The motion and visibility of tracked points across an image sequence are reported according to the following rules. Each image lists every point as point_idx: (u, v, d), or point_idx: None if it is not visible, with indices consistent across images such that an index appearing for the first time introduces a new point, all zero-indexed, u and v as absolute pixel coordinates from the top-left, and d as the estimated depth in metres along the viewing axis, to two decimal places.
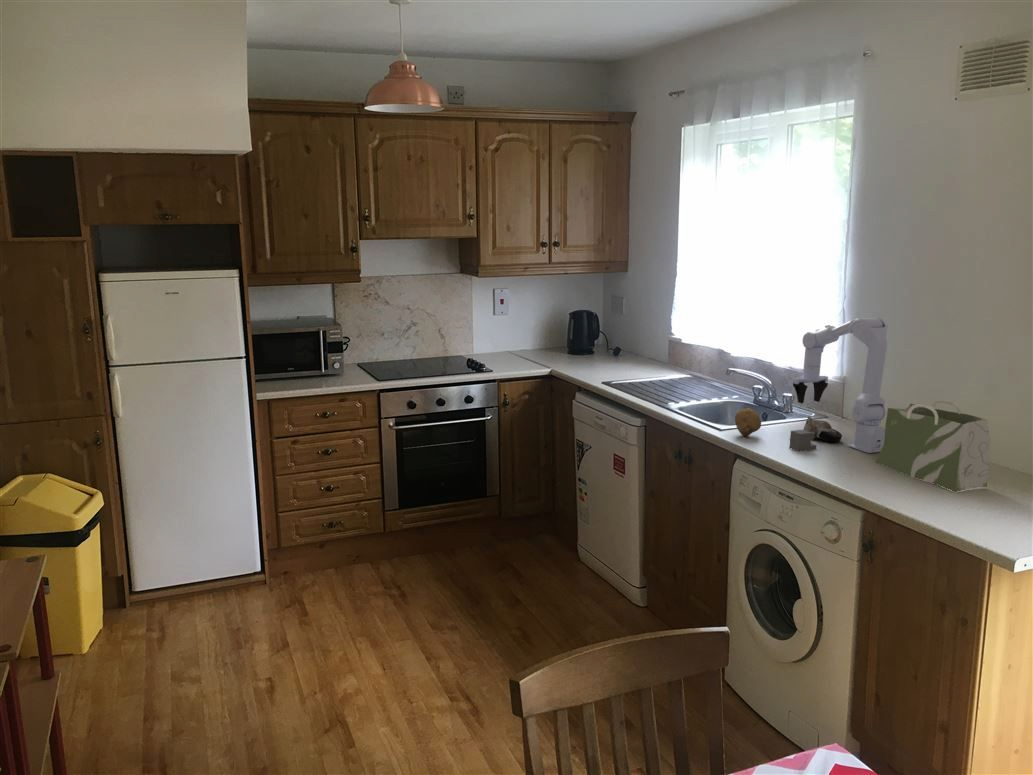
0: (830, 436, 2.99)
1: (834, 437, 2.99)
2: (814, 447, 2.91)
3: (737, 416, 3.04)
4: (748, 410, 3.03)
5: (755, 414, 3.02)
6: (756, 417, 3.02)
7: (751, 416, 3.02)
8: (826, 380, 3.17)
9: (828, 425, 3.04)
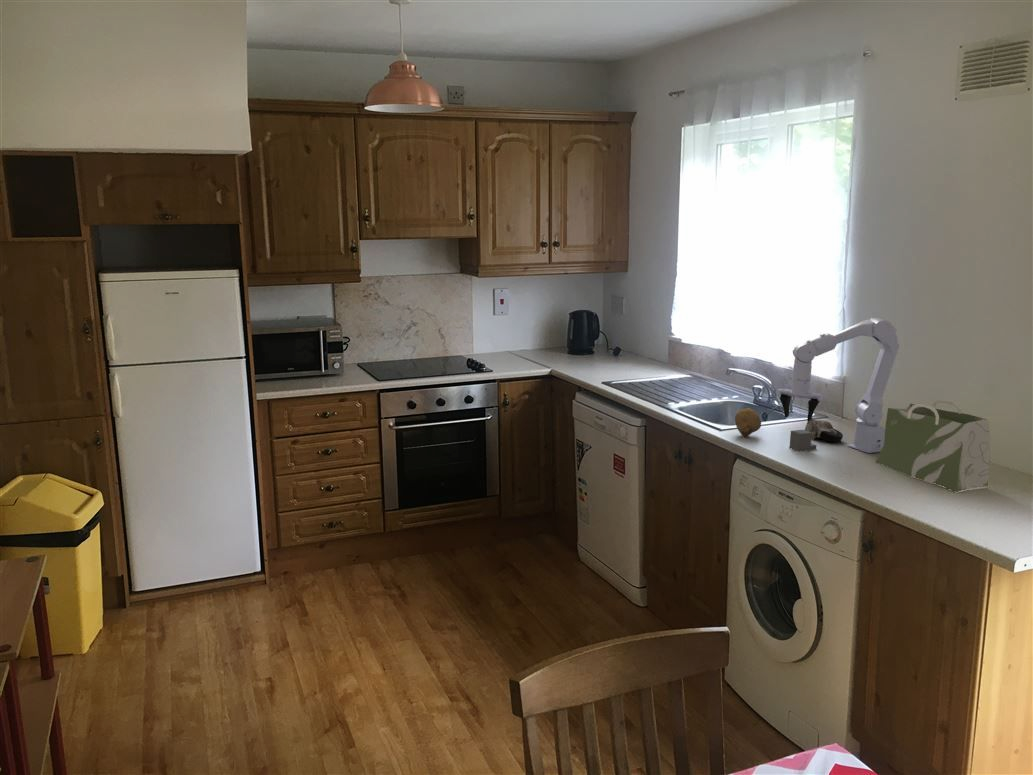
0: (830, 436, 2.99)
1: (835, 437, 2.99)
2: (814, 447, 2.91)
3: (737, 416, 3.04)
4: (748, 410, 3.03)
5: (755, 414, 3.02)
6: (756, 417, 3.02)
7: (751, 416, 3.02)
8: (818, 399, 2.88)
9: (829, 425, 3.04)
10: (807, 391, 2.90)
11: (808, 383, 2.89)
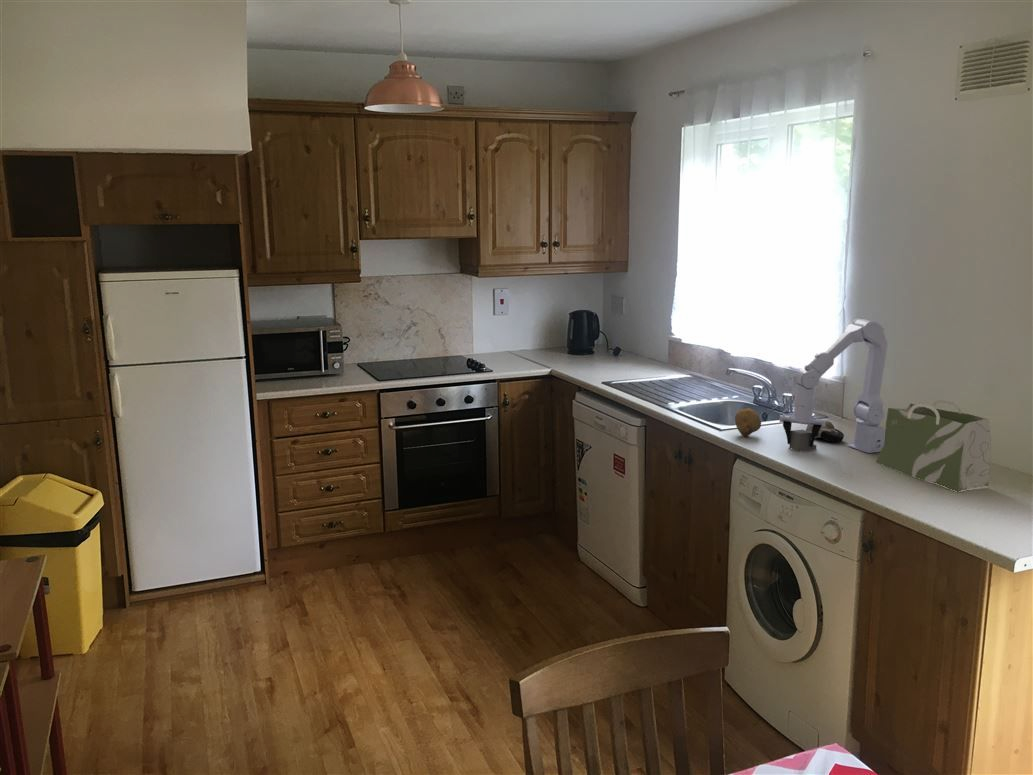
0: (831, 436, 2.99)
1: (835, 437, 2.99)
2: (814, 447, 2.91)
3: (737, 416, 3.04)
4: (748, 410, 3.03)
5: (755, 414, 3.02)
6: (756, 417, 3.02)
7: (751, 416, 3.02)
8: (822, 425, 2.86)
9: (831, 425, 3.04)
10: (810, 417, 2.87)
11: (812, 409, 2.87)
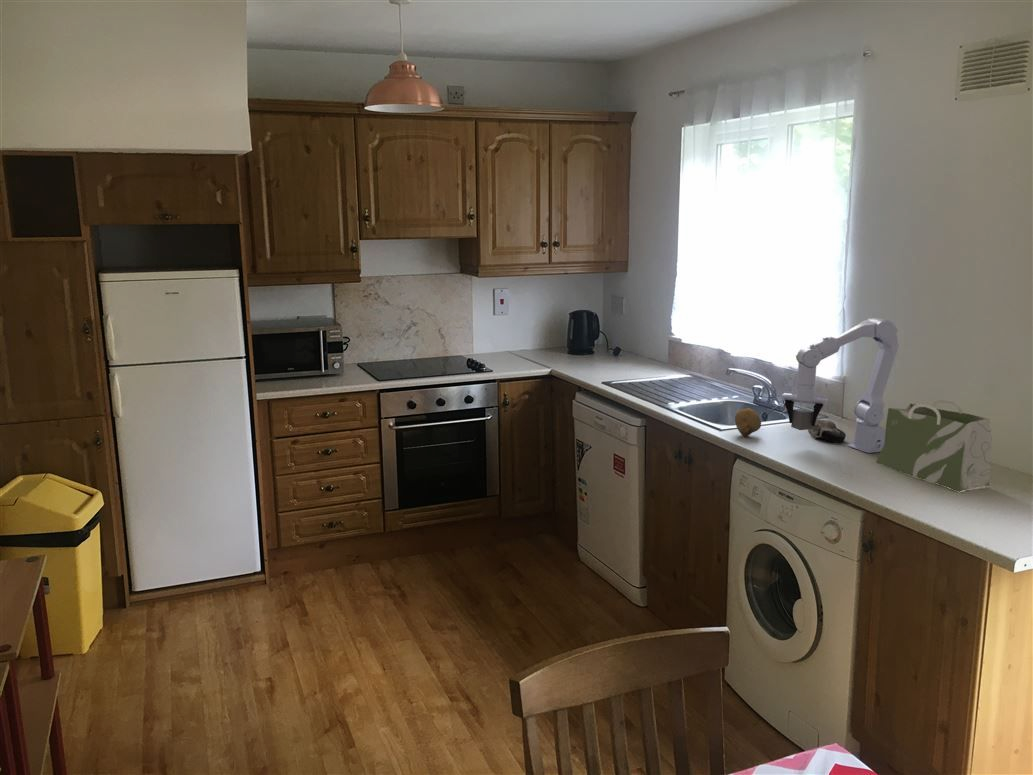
0: (832, 436, 2.99)
1: (836, 437, 2.99)
2: (816, 426, 2.90)
3: (737, 416, 3.04)
4: (748, 410, 3.03)
5: (755, 414, 3.02)
6: (756, 417, 3.02)
7: (751, 416, 3.02)
8: (824, 403, 2.85)
9: (833, 425, 3.04)
10: (812, 396, 2.87)
11: (813, 388, 2.86)
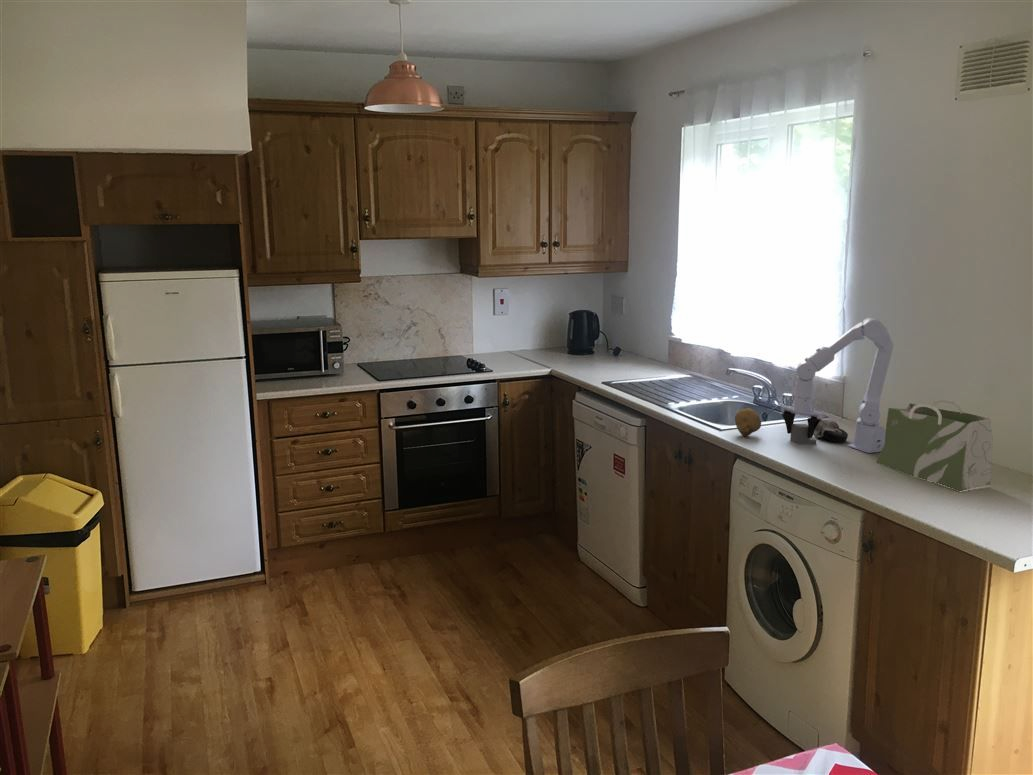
0: (833, 435, 2.99)
1: (837, 437, 2.99)
2: (814, 442, 2.97)
3: (737, 416, 3.04)
4: (748, 410, 3.03)
5: (755, 414, 3.02)
6: (756, 417, 3.02)
7: (751, 416, 3.02)
8: (818, 417, 2.92)
9: (835, 425, 3.04)
10: (807, 409, 2.95)
11: (809, 401, 2.94)
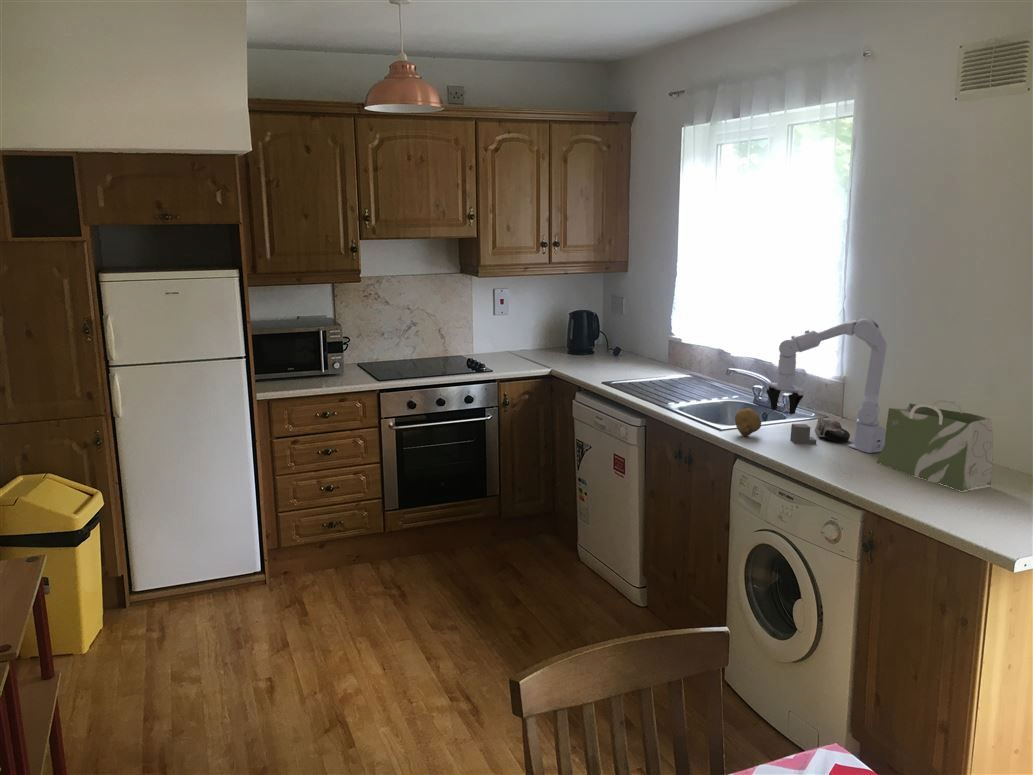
0: (834, 435, 3.00)
1: (838, 437, 2.99)
2: (814, 442, 2.97)
3: (737, 416, 3.04)
4: (748, 410, 3.03)
5: (755, 414, 3.02)
6: (756, 417, 3.02)
7: (751, 416, 3.02)
8: (798, 393, 2.96)
9: (838, 425, 3.04)
10: (789, 385, 2.99)
11: (791, 377, 2.98)
